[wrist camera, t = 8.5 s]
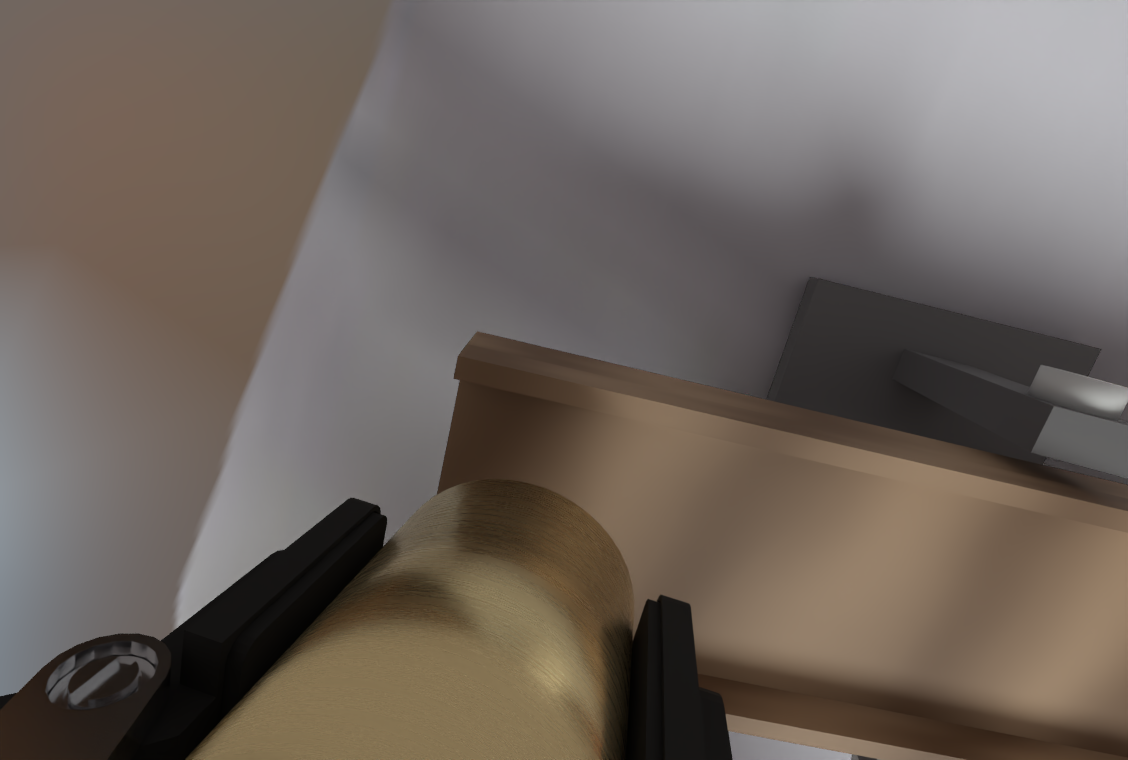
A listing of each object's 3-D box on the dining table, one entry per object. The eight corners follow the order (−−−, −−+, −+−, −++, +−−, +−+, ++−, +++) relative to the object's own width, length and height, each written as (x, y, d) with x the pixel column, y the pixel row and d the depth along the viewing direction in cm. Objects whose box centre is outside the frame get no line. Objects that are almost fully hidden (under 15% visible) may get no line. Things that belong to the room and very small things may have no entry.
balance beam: (1477, 567, 16) (1763, 673, 12) (1318, 772, 18) (1521, 918, 14) (476, 331, 14) (446, 370, 10) (423, 594, 16) (380, 709, 12)
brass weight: (583, 447, 10) (485, 709, 4) (669, 679, 11) (685, 1165, 5) (352, 516, 11) (27, 795, 5) (445, 721, 12) (247, 1160, 6)
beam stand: (1076, 343, 21) (1391, 411, 12) (917, 665, 25) (1064, 898, 16) (810, 277, 22) (917, 293, 13) (696, 597, 26) (718, 779, 17)
